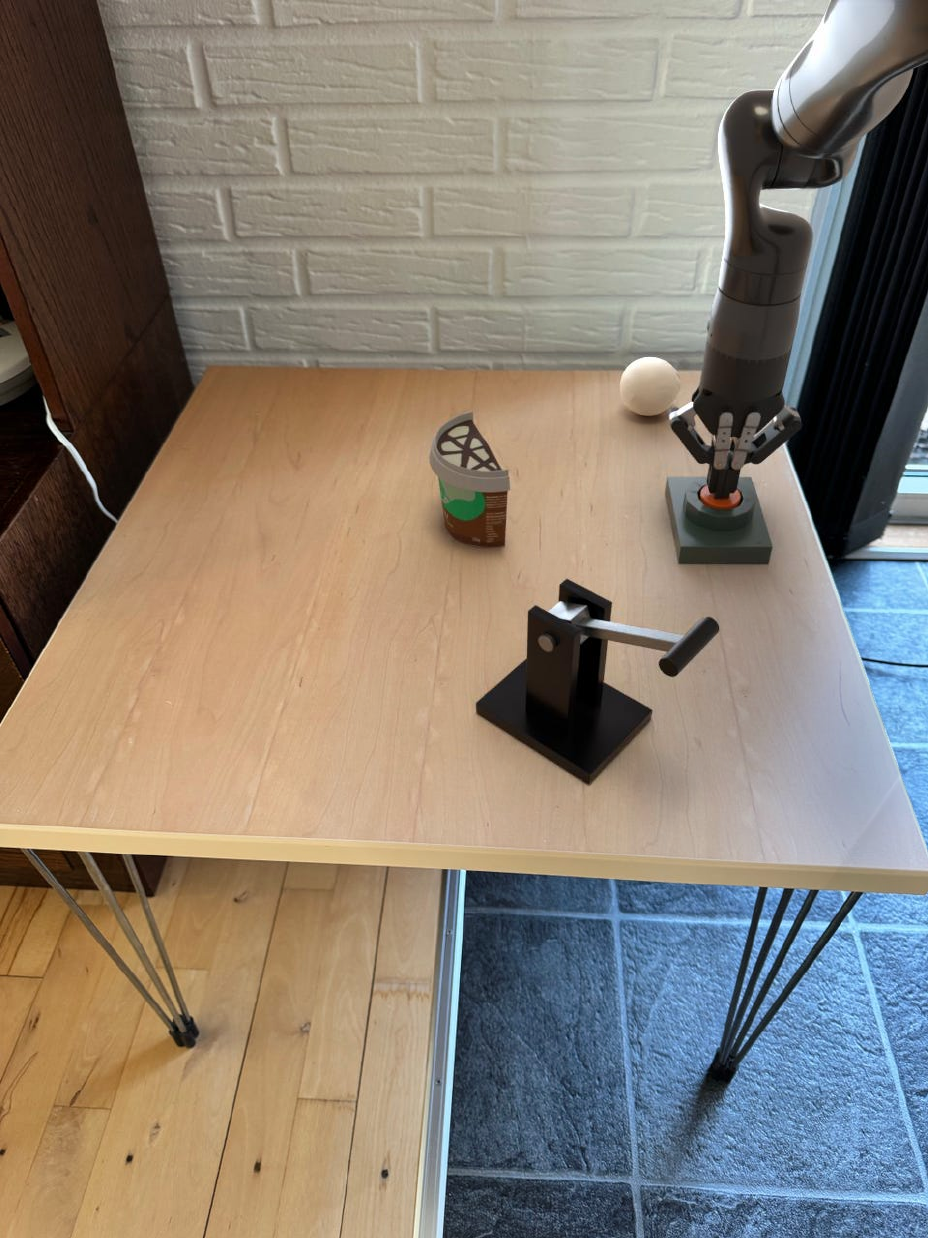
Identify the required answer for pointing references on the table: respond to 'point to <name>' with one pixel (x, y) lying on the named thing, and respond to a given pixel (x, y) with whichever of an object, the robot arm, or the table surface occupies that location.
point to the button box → (716, 525)
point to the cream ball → (649, 386)
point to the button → (719, 500)
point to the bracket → (566, 693)
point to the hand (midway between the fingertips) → (720, 493)
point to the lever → (642, 635)
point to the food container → (470, 483)
